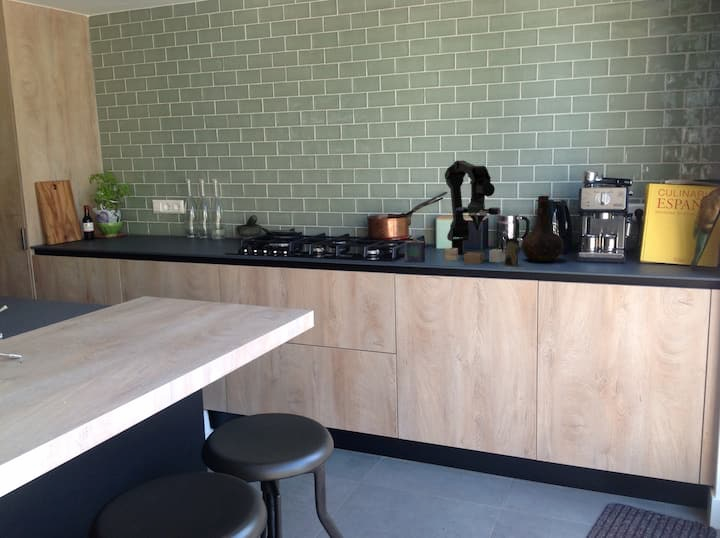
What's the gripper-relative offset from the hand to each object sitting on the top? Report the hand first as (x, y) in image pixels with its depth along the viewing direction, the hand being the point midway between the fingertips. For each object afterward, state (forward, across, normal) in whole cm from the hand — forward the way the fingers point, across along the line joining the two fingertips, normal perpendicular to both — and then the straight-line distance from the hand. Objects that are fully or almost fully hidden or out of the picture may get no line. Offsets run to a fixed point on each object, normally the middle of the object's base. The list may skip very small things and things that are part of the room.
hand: (477, 230), depth 295 cm
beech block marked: (+13, -11, -3) cm, 17 cm away
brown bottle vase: (+13, +27, +6) cm, 31 cm away
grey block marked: (+13, +9, -1) cm, 16 cm away
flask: (+13, -25, -12) cm, 31 cm away
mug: (+13, +16, -9) cm, 23 cm away
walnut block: (+13, 0, -6) cm, 15 cm away
